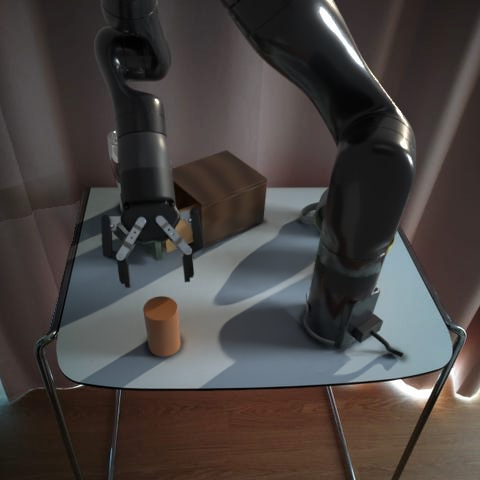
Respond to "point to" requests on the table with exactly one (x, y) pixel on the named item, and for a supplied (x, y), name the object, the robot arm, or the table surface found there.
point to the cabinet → (223, 194)
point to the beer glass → (114, 158)
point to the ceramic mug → (318, 213)
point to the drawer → (182, 229)
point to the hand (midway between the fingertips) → (157, 284)
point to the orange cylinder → (162, 326)
